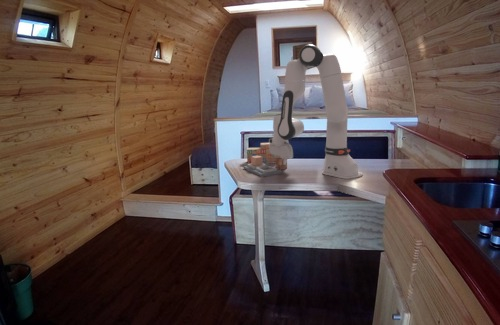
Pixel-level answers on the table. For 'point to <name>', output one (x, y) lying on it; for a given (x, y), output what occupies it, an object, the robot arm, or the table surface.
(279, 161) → the terracotta block
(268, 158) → the stack of blocks
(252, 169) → the assembly plate
